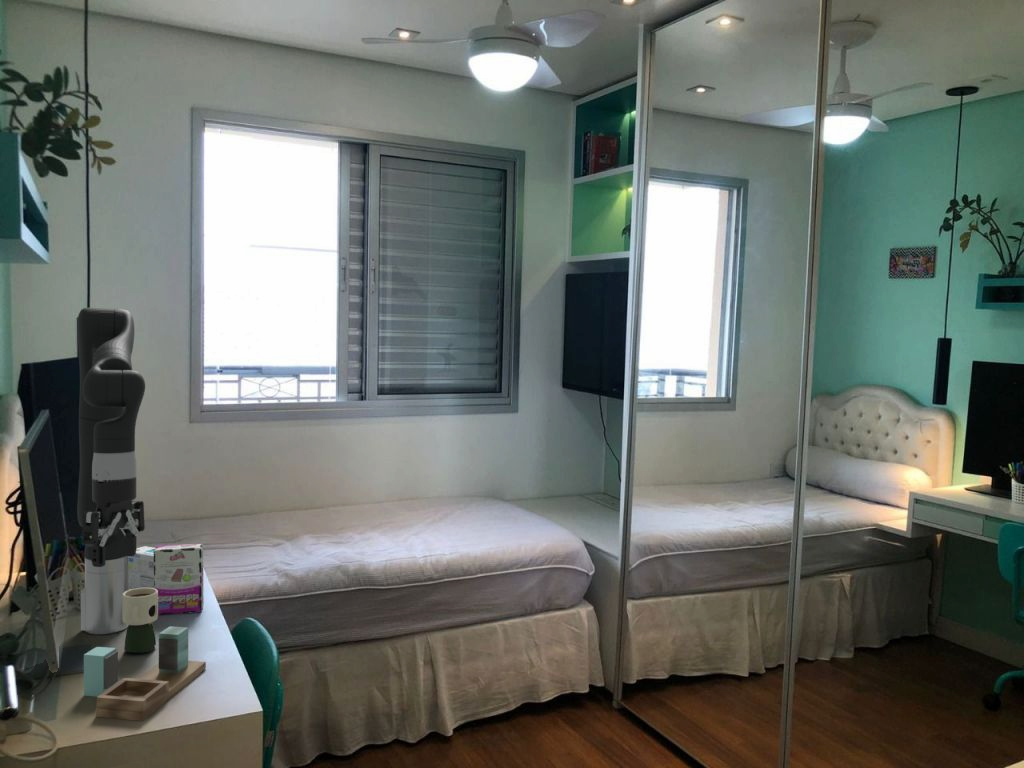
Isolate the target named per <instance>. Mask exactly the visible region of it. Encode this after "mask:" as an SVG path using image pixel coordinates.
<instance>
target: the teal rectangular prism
mask: <svg viewBox="0 0 1024 768" xmlns="http://www.w3.org/2000/svg"><path fill="white" fill-rule="evenodd" d="M118 682H119V652H118V650H117V648H116V647H108V646H107V647H105V646H96V647H94V648H92V649H91V650H88V651H87V652H86V653H84V654H83V696H85V697H96V698H97V697H98V696H99V695H101V694H102V693H103V692H105V691H106V690H108V689H109V688H111V687H112V686H113V685H115V684H116V683H118Z"/></svg>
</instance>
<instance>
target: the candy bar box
mask: <svg viewBox="0 0 1024 768" xmlns="http://www.w3.org/2000/svg"><path fill="white" fill-rule="evenodd" d="M155 548H156V549H155V550H154V588H155V589H157V590H158V616H166V615H180V614H181V613H183V614H193V613H195V612H197V613H201V612H203V608H204V603H205V601H204V599H205V598H204V597H205V596H204V543H189V544H188V543H187V544H185V543H184V544H169V545H168V544H167V545H156V547H155Z"/></svg>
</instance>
